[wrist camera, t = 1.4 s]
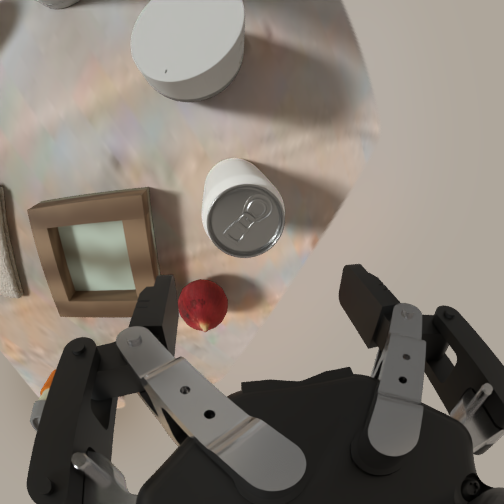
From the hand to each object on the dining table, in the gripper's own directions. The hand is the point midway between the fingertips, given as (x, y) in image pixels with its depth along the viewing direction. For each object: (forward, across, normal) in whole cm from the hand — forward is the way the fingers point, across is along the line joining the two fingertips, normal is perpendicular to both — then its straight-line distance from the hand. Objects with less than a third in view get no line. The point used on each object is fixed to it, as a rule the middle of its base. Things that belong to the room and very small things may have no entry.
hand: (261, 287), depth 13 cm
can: (+20, 0, 0) cm, 20 cm away
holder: (+20, +17, +7) cm, 27 cm away
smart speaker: (+20, +4, -14) cm, 25 cm away
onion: (+20, +4, +13) cm, 24 cm away
